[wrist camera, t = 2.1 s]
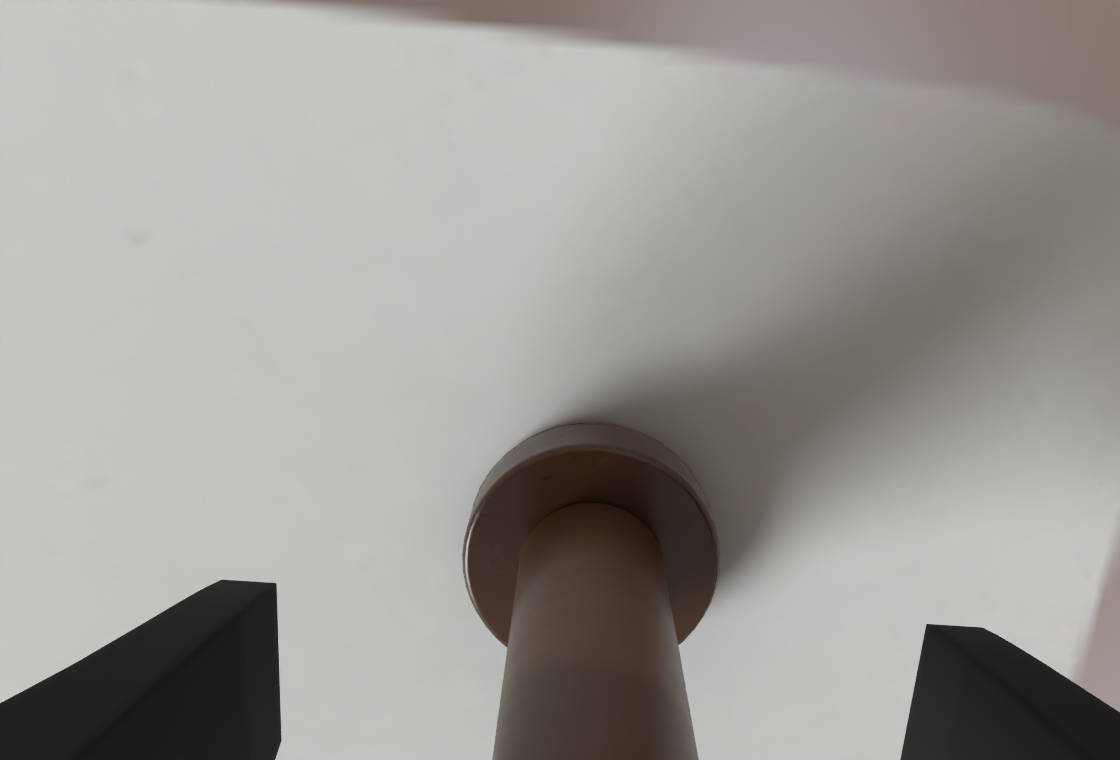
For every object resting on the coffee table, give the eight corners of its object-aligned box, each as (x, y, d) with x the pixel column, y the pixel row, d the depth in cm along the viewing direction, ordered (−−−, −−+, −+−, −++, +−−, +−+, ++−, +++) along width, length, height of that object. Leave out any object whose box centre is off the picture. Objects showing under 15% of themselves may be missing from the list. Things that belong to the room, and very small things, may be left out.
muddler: (698, 648, 15) (868, 1440, 6) (466, 633, 15) (300, 1404, 6) (723, 429, 14) (973, 1003, 5) (473, 413, 14) (287, 959, 5)
